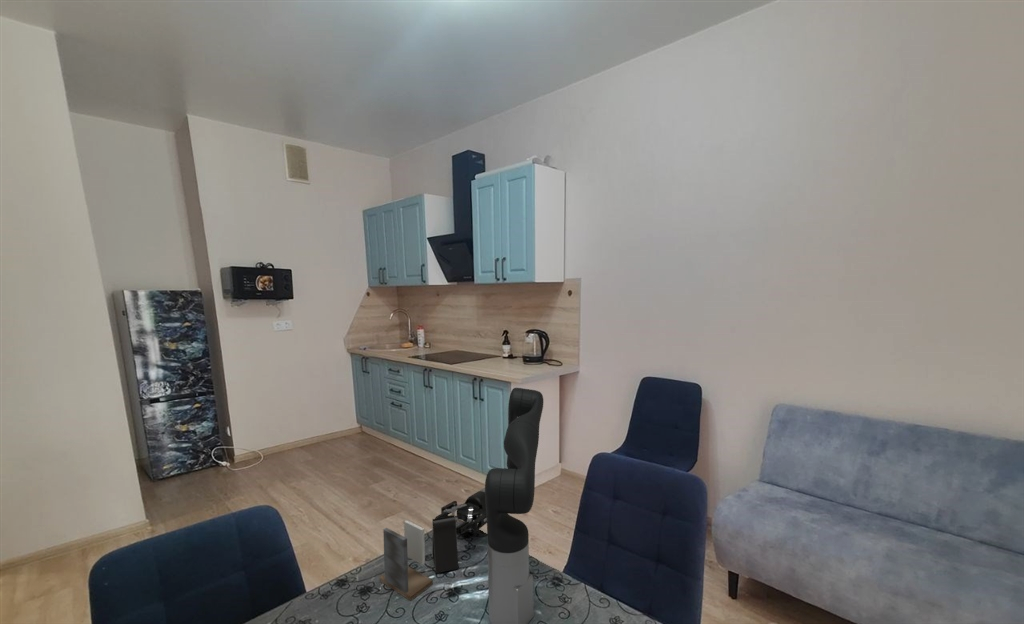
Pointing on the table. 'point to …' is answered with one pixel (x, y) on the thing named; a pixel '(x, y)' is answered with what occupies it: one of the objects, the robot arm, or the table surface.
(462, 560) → the table surface
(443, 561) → the phone stand
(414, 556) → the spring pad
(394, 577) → the grey bookend
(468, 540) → the table surface
